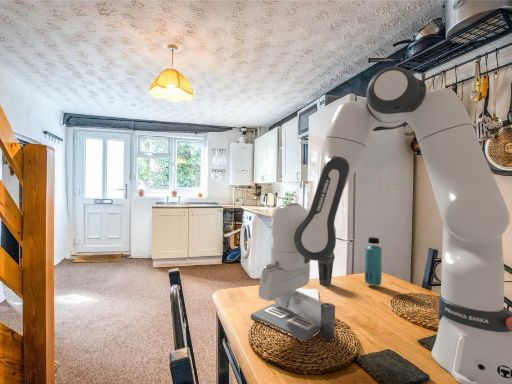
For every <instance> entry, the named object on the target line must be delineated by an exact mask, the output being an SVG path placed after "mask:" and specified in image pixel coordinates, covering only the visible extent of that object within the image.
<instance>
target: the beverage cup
mask: <svg viewBox="0 0 512 384" xmlns="http://www.w3.org/2000/svg"><path fill="white" fill-rule="evenodd" d="M335 258H336V257H335V252H334V251H333V252H332V254H331V255H330V256H328V257H327V258H325V259H323V260H317V267H318V282H319V285H320V286H323V287H329V286H331V285H332V283H331V282H332V279H333V270H334V269H333V267H334V261H335Z"/></svg>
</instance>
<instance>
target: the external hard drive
mask: <svg viewBox="0 0 512 384" xmlns="http://www.w3.org/2000/svg"><path fill="white" fill-rule="evenodd" d="M296 291H298V292H301V293H303V294H305V295H307V296H310V297H312V298H314V299H316V300H318V301H320V295H319V290H318V289H315V288H303V287H301V288H298V289H296Z"/></svg>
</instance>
